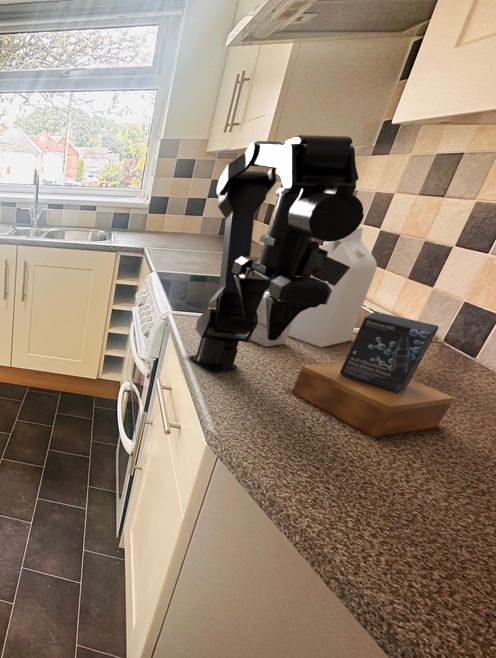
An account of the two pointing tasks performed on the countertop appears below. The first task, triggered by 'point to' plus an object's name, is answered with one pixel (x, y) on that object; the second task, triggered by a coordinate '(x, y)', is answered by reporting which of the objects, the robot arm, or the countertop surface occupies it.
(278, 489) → the countertop surface
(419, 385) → the wooden plinth
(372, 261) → the milk
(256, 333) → the light bulb box
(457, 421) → the countertop surface
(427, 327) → the box
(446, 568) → the countertop surface
